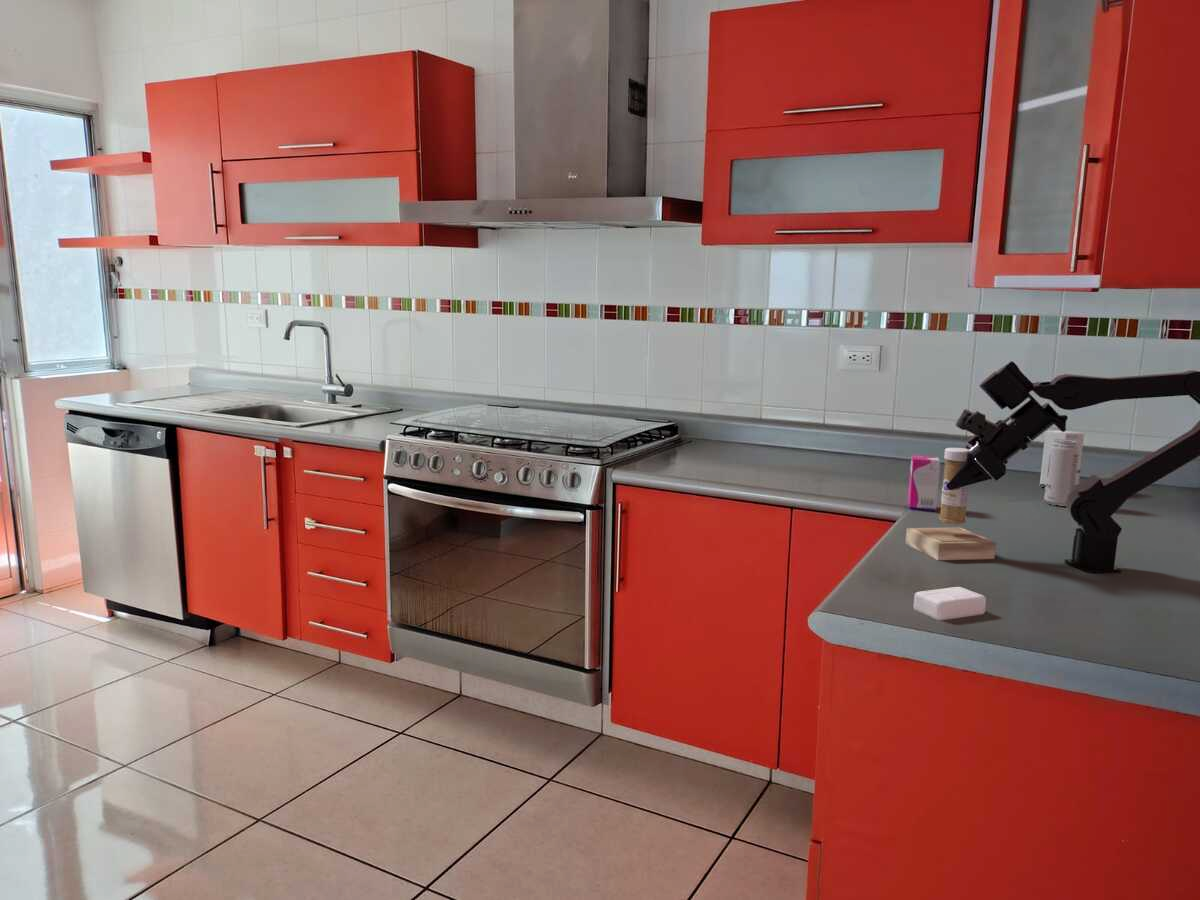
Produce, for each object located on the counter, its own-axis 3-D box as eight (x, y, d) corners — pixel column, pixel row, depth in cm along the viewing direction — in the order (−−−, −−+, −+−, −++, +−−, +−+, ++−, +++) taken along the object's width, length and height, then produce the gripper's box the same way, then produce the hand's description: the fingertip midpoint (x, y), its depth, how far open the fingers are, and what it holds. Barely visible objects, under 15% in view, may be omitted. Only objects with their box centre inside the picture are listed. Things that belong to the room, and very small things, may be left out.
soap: (957, 604, 133) (959, 584, 133) (986, 616, 128) (988, 595, 128) (910, 610, 130) (912, 590, 129) (939, 623, 125) (940, 602, 124)
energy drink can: (1044, 500, 212) (1051, 438, 210) (1073, 504, 209) (1080, 440, 207) (1042, 504, 207) (1049, 441, 205) (1071, 508, 204) (1079, 443, 202)
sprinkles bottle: (933, 521, 162) (939, 448, 160) (949, 518, 165) (954, 446, 163) (956, 526, 159) (962, 451, 157) (971, 523, 161) (977, 449, 159)
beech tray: (994, 558, 158) (996, 541, 158) (937, 560, 156) (939, 542, 156) (958, 542, 169) (960, 526, 169) (905, 543, 167) (906, 527, 166)
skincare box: (1060, 492, 223) (1066, 433, 221) (1037, 487, 229) (1043, 430, 226) (1079, 489, 228) (1086, 432, 226) (1056, 485, 233) (1063, 428, 231)
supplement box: (933, 506, 201) (938, 456, 200) (936, 511, 196) (941, 460, 194) (906, 504, 203) (911, 454, 201) (908, 509, 197) (913, 458, 196)
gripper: (984, 391, 166) (917, 445, 171) (990, 399, 148) (915, 459, 154) (1027, 435, 164) (958, 489, 169) (1038, 449, 147) (960, 508, 152)
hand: (947, 485), depth 161 cm, fingers closed on sprinkles bottle, 4 cm apart
